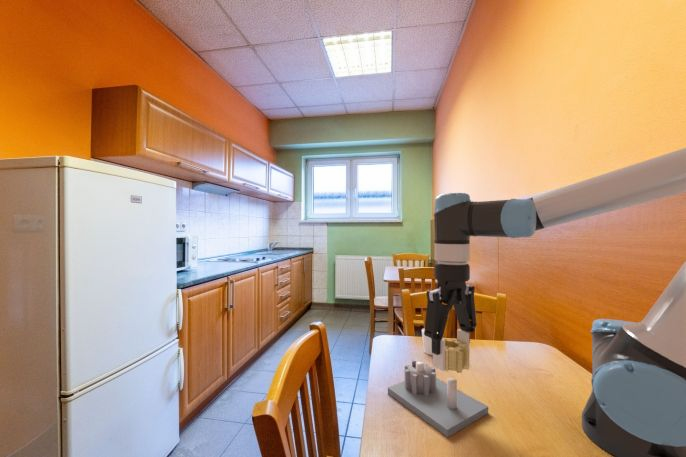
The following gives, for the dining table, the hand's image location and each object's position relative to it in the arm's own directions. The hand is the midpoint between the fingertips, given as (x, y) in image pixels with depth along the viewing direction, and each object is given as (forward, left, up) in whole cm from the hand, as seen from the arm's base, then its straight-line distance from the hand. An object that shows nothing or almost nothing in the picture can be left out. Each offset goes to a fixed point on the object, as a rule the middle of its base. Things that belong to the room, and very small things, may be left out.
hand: (451, 363), depth 65 cm
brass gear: (0, 0, 0) cm, 0 cm away
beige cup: (+24, -22, -11) cm, 35 cm away
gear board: (+4, 0, -11) cm, 12 cm away
